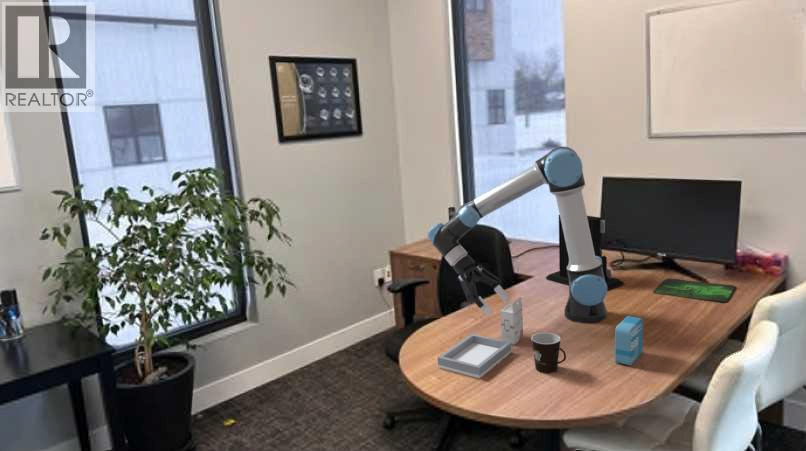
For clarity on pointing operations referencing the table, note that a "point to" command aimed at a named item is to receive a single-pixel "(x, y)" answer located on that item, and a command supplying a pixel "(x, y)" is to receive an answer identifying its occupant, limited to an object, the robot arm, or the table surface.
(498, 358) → the docking bay
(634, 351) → the data package
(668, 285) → the mouse mat
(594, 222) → the ribbed black tower
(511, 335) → the ink cartridge box
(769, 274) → the table surface
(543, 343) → the coffee mug
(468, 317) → the table surface
